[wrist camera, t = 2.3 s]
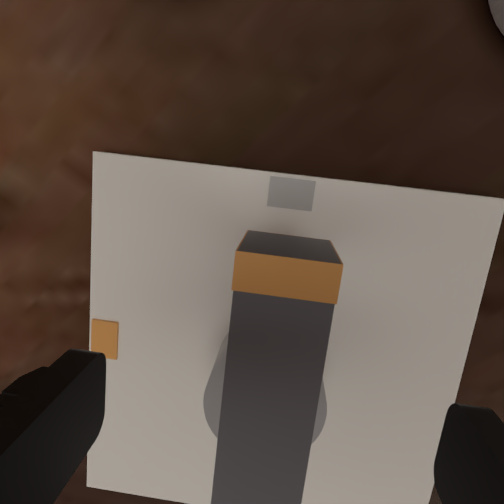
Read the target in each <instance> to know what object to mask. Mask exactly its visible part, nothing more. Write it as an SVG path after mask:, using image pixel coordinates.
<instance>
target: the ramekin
mask: <svg viewBox="0 0 504 504" xmlns="http://www.w3.org/2000/svg"><path fill="white" fill-rule="evenodd" d="M488 2H489V6H490V10H491V13H492V15H493V18H494V21H495V23H496V25H497V27H498V28H499V30H500V32H501V33H502V34H503V36H504V0H488Z"/></svg>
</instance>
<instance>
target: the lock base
mask: <svg viewBox="0 0 504 504" xmlns="http://www.w3.org/2000/svg"><path fill="white" fill-rule="evenodd" d="M503 213H504V199H502V198H496V197H490V196H481V195H472V194H464V193H455V192H446V191H438V190H429V189H421V188H412V187H403V186H395V185H386V184H377V183H369V182H360V181H351V180H343V179H334V178H326V177H317V176H308V175H300V174H291V173H282V172H274V171H265V170H257V169H248V168H239V167H231V166H222V165H213V164H205V163H196V162H187V161H179V160H170V159H162V158H153V157H144V156H136V155H127V154H118V153H110V152H96V151H93V179H92V233H91V287H90V341H89V351H94V352H101V353H104V354H105V357H106V392H105V415H104V420H103V424H102V427H101V430H100V433H99V435H98V437H97V439H96V441H95V442H94V444H93V445H92V447H91V448H90V450H89V451H88V452H87V487H93V488H99V489H105V490H111V491H117V492H123V493H129V494H135V495H141V496H147V497H153V498H158V499H164V500H170V501H176V502H182V503H188V504H211V497H212V487H213V478H214V468H215V459H216V449H217V440H218V430H219V421H220V411H221V402H222V392H223V383H224V373H225V364H226V354H227V345H228V335H229V326H230V316H231V307H232V297H233V290H231V289H232V279H233V270H234V260H235V251H236V249H237V247H238V246H239V244H240V242H241V240H242V239H243V237H244V235H245V234H246V232H247V230H253V231H261V232H269V233H277V234H285V235H293V236H301V237H309V238H317V239H325V240H331V242H332V244H333V246H334V248H335V250H336V251H337V253H338V255H339V257H340V259H341V261H342V263H343V264H344V265H343V271H342V277H341V283H340V289H339V295H338V301H337V304H335V306H334V312H333V318H332V324H331V330H330V336H329V342H328V348H327V354H326V360H325V366H324V372H323V378H322V383H321V389H320V395H319V401H318V407H317V413H316V419H315V425H314V431H313V437H312V443H311V449H310V455H309V461H308V467H307V473H306V478H305V484H304V490H303V496H302V502H301V504H429V500H430V497H431V493H432V489H433V485H434V461H435V457H436V453H437V449H438V445H439V441H440V437H441V433H442V429H443V425H444V421H445V417H446V413H447V410H448V408H449V406H450V405H451V404H453V403H455V399H456V396H457V392H458V388H459V384H460V380H461V376H462V372H463V368H464V364H465V361H466V357H467V353H468V349H469V345H470V341H471V337H472V333H473V329H474V326H475V322H476V318H477V314H478V310H479V306H480V302H481V298H482V294H483V291H484V287H485V283H486V279H487V275H488V271H489V267H490V263H491V259H492V256H493V252H494V248H495V244H496V240H497V236H498V232H499V228H500V225H501V221H502V217H503Z"/></svg>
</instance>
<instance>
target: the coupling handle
mask: <svg viewBox="0 0 504 504" xmlns="http://www.w3.org/2000/svg"><path fill="white" fill-rule="evenodd" d="M343 265H344V264H343V263H342V261H341V259H340V257H339V255H338V253H337V251H336V250H335V248H334V246H333V244H332V242H331V240H325V239H317V238H309V237H301V236H293V235H285V234H277V233H269V232H261V231H253V230H247V232H246V234H245V235H244V237H243V239H242V240H241V242H240V244H239V246H238V247H237V249H236V251H235V260H234V270H233V279H232V289H231V290H233V297H232V307H231V316H230V326H229V335H228V345H227V354H226V364H225V373H224V383H223V392H222V402H221V411H220V421H219V430H218V440H217V449H216V459H215V468H214V478H213V487H212V497H211V504H301V502H302V496H303V490H304V484H305V478H306V473H307V467H308V461H309V455H310V449H311V443H312V437H313V431H314V425H315V419H316V413H317V407H318V401H319V395H320V389H321V383H322V378H323V372H324V366H325V360H326V354H327V348H328V342H329V336H330V330H331V324H332V318H333V312H334V306H335V304H337V301H338V295H339V289H340V283H341V277H342V271H343Z"/></svg>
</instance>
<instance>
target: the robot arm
mask: <svg viewBox="0 0 504 504" xmlns="http://www.w3.org/2000/svg"><path fill="white" fill-rule="evenodd" d="M105 392H106V357H105V354H104V353H101V352H94V351H87V350H80V349H69V350H68V351H67V352H65V353H64V354H63V355H62V356H61V357H60V358H59V359H57V360H56V361H55V362H54V363H53V364H52V365H51V366H49V367H40V368H38V369H36V370H34V371H32V372H30V373H27V374H25V375H23V376H21V377H19V378H18V379H17V380H15V381H14V382H13V383H12V384H11V385H9V386H8V387H7V388H6V389H4V390H3V391H2V394H0V504H53V503H54V502H55V500H56V499H57V497H58V496H59V494H60V493H61V491H62V490H63V488H64V487H65V485H66V484H67V482H68V481H69V479H70V478H71V476H72V475H73V473H74V472H75V470H76V469H77V467H78V466H79V464H80V463H81V461H82V460H83V458H84V457H85V455H86V454H87V452H88V451H89V450H90V448H91V447H92V445H93V444H94V442H95V441H96V439H97V437H98V435H99V433H100V430H101V427H102V424H103V420H104V415H105ZM434 481H435V486H436V490H437V493H438V495H439V497H440V499H441V502H442V504H504V423H503V422H502V421H501V420H500V418H499V417H498V416H497V415H496V414H495V412H494V411H493V410H491V409H490V408H485V407H478V406H471V405H464V404H457V403H453V404H451V405H450V406H449V408H448V410H447V413H446V417H445V421H444V425H443V429H442V433H441V437H440V441H439V445H438V449H437V453H436V457H435V461H434Z"/></svg>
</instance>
